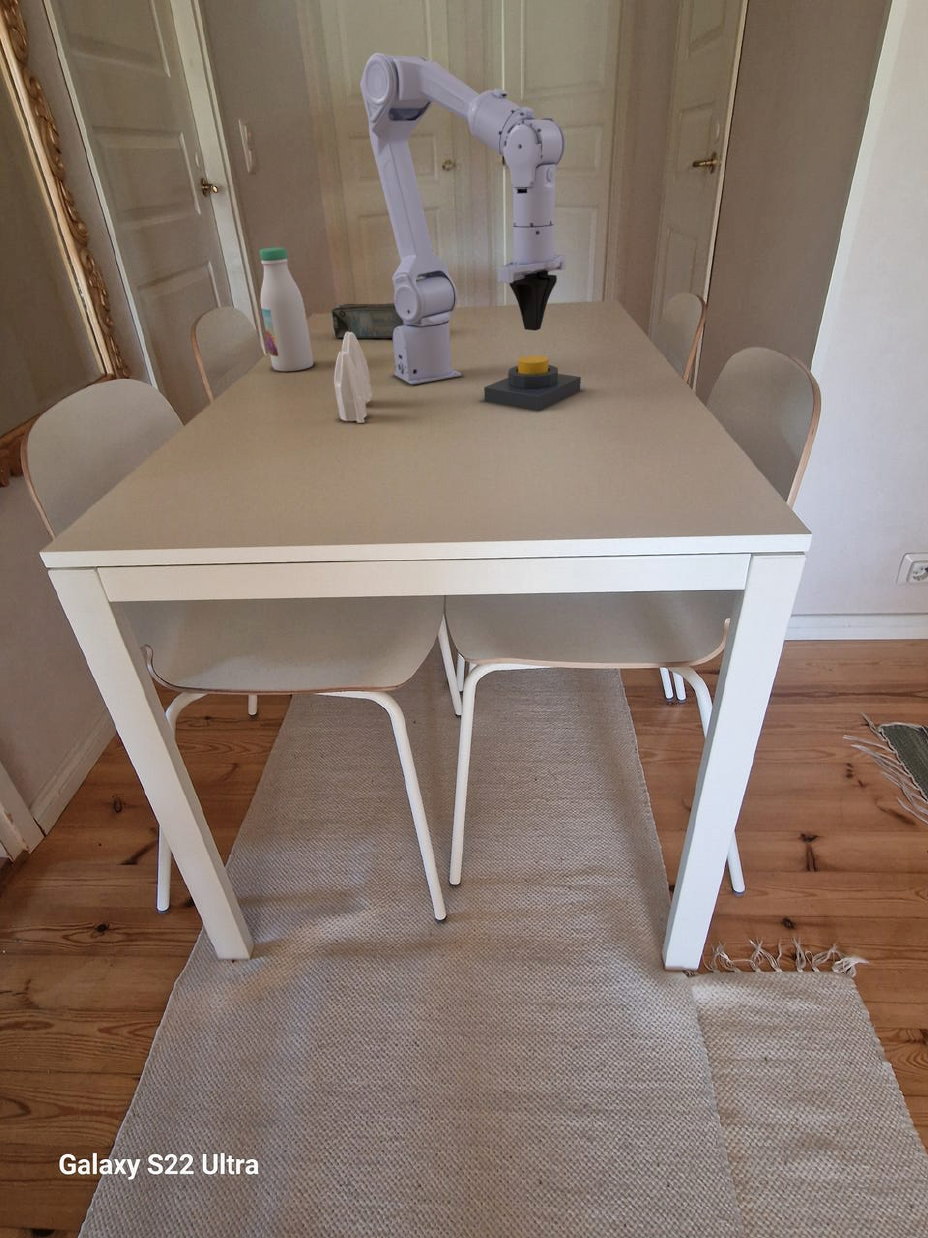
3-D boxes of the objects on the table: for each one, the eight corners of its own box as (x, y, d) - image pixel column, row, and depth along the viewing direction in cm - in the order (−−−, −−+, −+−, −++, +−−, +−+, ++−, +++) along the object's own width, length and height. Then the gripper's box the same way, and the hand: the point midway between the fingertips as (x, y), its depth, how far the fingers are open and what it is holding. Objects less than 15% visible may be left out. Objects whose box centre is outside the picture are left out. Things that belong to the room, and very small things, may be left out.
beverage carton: (348, 331, 156) (344, 299, 153) (428, 332, 151) (426, 299, 148) (334, 338, 150) (329, 306, 146) (416, 340, 145) (413, 306, 141)
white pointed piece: (349, 400, 110) (339, 326, 104) (375, 399, 110) (366, 325, 104) (336, 424, 100) (324, 344, 94) (365, 423, 100) (354, 343, 94)
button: (537, 378, 103) (537, 363, 102) (512, 374, 105) (512, 360, 104) (553, 371, 106) (554, 357, 105) (529, 367, 108) (529, 353, 107)
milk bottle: (318, 361, 133) (300, 245, 122) (307, 371, 127) (286, 249, 116) (280, 362, 134) (258, 246, 123) (267, 372, 128) (243, 251, 117)
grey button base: (538, 411, 101) (538, 383, 99) (484, 401, 106) (483, 374, 104) (580, 390, 109) (581, 364, 106) (527, 382, 114) (528, 357, 112)
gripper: (528, 230, 89) (527, 341, 96) (585, 220, 98) (580, 322, 106) (484, 230, 93) (487, 336, 100) (543, 220, 102) (542, 318, 109)
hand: (532, 329), depth 103 cm, fingers closed
